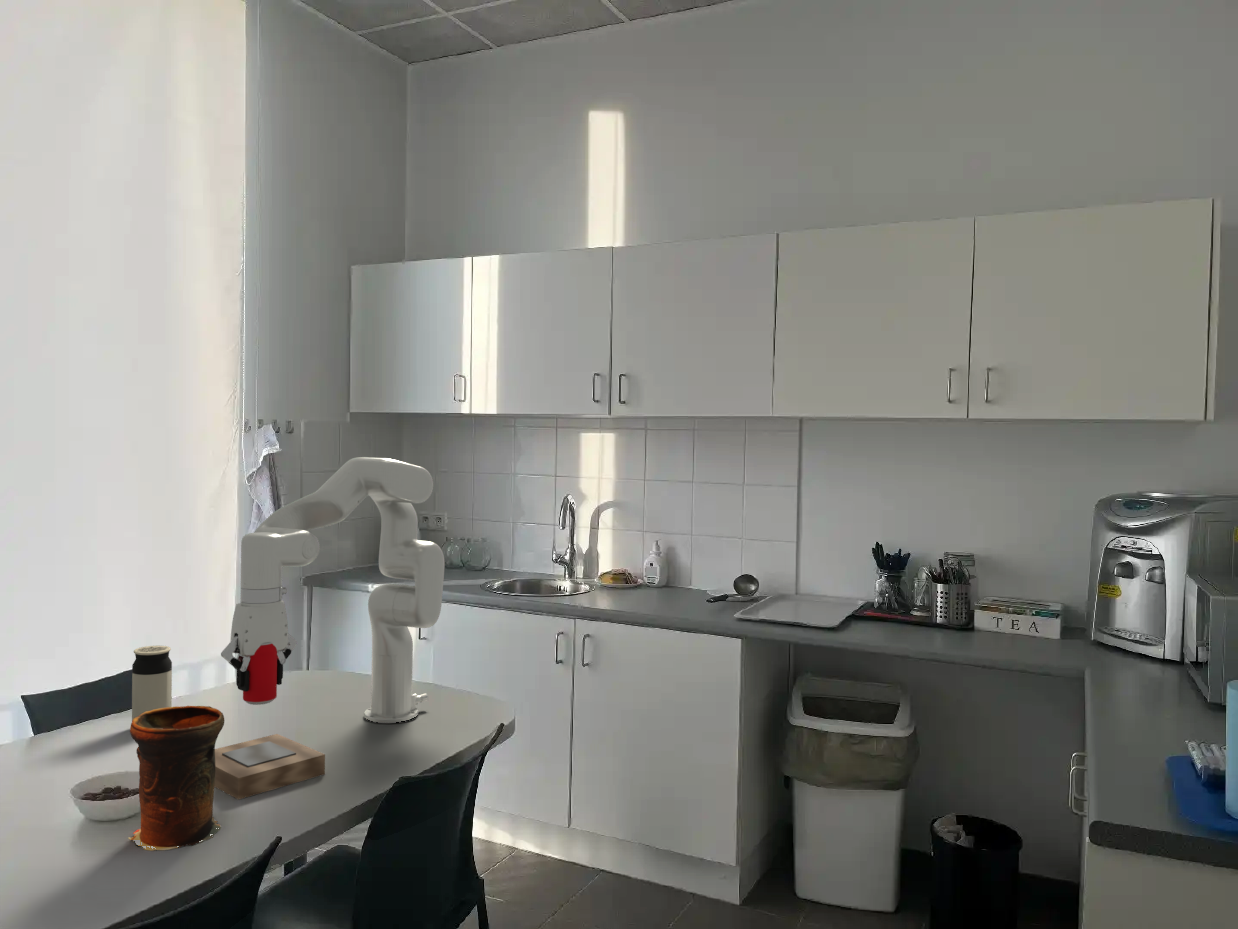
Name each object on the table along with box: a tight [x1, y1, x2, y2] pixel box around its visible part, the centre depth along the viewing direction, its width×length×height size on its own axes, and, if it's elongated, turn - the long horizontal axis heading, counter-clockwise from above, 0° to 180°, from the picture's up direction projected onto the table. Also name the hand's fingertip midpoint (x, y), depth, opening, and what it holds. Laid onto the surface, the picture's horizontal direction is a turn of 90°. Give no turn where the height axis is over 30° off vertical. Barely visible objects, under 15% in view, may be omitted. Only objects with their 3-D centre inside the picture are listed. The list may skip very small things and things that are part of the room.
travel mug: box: [131, 645, 173, 722], centre depth 213 cm, size 8×8×18 cm
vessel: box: [127, 705, 225, 852], centre depth 160 cm, size 14×14×20 cm
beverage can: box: [242, 642, 278, 706], centre depth 186 cm, size 6×6×12 cm
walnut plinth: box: [214, 733, 326, 801], centre depth 187 cm, size 18×18×4 cm
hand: (259, 686), depth 186 cm, fingers closed on beverage can, 6 cm apart
